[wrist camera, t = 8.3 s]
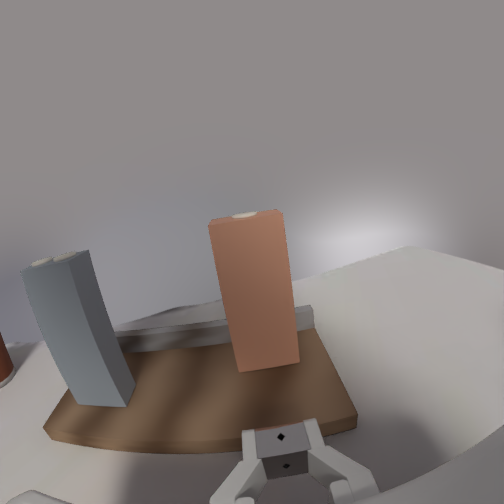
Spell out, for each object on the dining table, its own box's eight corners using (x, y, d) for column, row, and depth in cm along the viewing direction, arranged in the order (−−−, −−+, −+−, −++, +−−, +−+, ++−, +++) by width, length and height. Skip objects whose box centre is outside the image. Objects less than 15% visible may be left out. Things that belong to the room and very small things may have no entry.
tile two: (78, 404, 18) (19, 268, 15) (90, 384, 21) (41, 257, 18) (126, 407, 18) (67, 257, 15) (136, 384, 21) (87, 247, 18)
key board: (51, 439, 15) (30, 409, 14) (108, 348, 31) (99, 323, 30) (356, 427, 16) (359, 393, 15) (307, 323, 31) (304, 294, 30)
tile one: (239, 372, 22) (207, 222, 19) (238, 352, 25) (211, 217, 22) (299, 362, 22) (282, 210, 19) (293, 343, 25) (275, 206, 22)
